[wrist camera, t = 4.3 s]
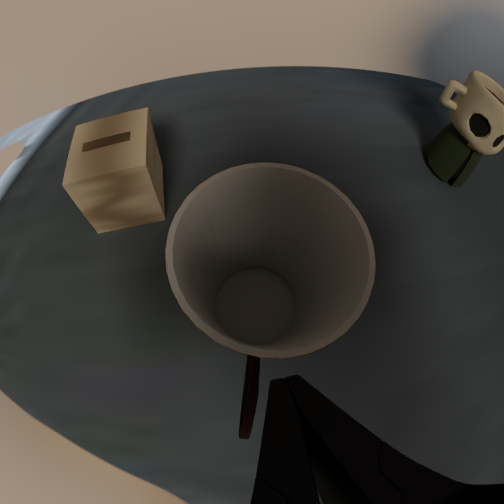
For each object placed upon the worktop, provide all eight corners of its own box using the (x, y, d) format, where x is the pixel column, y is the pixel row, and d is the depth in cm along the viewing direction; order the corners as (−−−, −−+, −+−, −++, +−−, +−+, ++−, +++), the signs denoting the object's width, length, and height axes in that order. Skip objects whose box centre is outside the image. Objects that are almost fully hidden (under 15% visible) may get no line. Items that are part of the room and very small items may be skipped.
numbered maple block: (96, 234, 22) (58, 184, 16) (100, 178, 24) (72, 125, 18) (165, 220, 23) (145, 163, 16) (162, 165, 25) (147, 106, 19)
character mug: (408, 172, 27) (468, 82, 15) (404, 132, 30) (449, 51, 18) (479, 206, 27) (544, 141, 15) (470, 165, 30) (521, 101, 18)
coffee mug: (239, 230, 23) (246, 136, 14) (334, 289, 22) (399, 226, 12) (146, 352, 19) (78, 329, 10) (249, 424, 17) (265, 468, 8)
